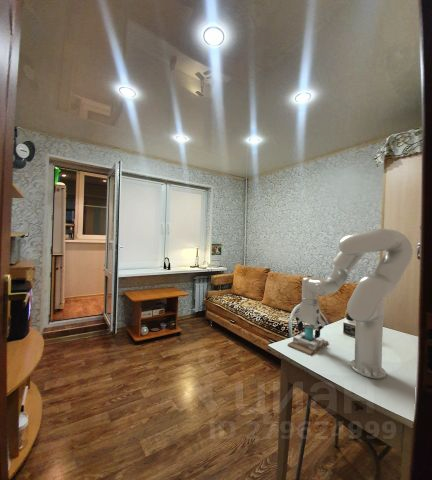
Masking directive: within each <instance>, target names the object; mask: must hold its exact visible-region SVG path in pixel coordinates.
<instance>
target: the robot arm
mask: <svg viewBox="0 0 432 480" xmlns="http://www.w3.org/2000/svg"><path fill="white" fill-rule="evenodd" d="M338 249H339V251H338V253H337V255H335V257H334V258H333V259H332V264H333V265H334V269H333V270H332V272H331V273H330V275H329V276H328V277H327V278H322V279H318V278H316V277H309V276H304V277H303V278H302V280H301V302H300V304H299V311H298V312H295V313H294V317H295V320H296V323H297V331H298V332H303V331H304V323H306V324H308V325H311V326H313V328H315V331H314V336H315V338H318V337H320V338H321V330H323V329H324V327H325V326H326V322H325V321H324V320H322V319H321V310H320V301H319V300H318V296H328V295H332V294H334V293H336V292H338V291H339V290H340V289H341V288H342V286H343V285H344V284H345V283H346V282H347V280H348V278H349V275H350V274H351V271H352V270H353V268H354V267H355V266H356V265H357V263H359V261H360V260H361V259H362V258H363V257H364V256H365V254H369V253H376V252H385V253H384V255H383V257H381V259H380V261H379V262H378V264H377V267H376V268H375V270H374V271H373V272H372V274H367V275H365V276H363V277H362V278H361V279H360V280H359V281H358V283H357V284H356V287H355V289H354V290H353V292H352V294H351V295H350V298H349V299H348V302H347V305H346V311H347V313H348V314H349V316H350V317H351V318H352V319H353V320H355V321H356V325H355V337H354V359H352V360H350V362H349V363H350V365H349V366H350V368H351V369H352V370H353V371H354V372H355V373H357V374H359V375H361V376H364V377H366V378H369V379H370V378H371V379H376V380H377V379H379V380H381V379H384V378H386V377H387V372H386V370H385V369H384V368H383V365H382V364H383V363H382V362H383V361H382V360H383V337H384V336H383V335H384V334H383V331H384V320H385V314H386V308H385V304H384V302H383V300H384V298H387V297H389V296H392V294H394V292H395V290H396V288H397V286H398V285H399V283H400V281H401V279H402V278H403V277H404V276H403V275H404V274H405V272H406V271H407V268H408V266H409V265H410V262H411V260H412V257H413V251H414V250H413V245H412V243H411V241H410V239H409V238H408V237H407V236H406V235H405V234H403V233H402V232H401V231H398V230H394V229H389V228H387V229H386V228H376V229H371V230H367V231H362V232H358V233H353V234H348V235H344V237H342V238H341V239H340V241H339V243H338Z"/></svg>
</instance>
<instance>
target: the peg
mask: <svg viewBox="0 0 432 480" xmlns="http://www.w3.org/2000/svg"><path fill="white" fill-rule="evenodd" d="M304 332H305V339H306V340H308V341H313V335H314V326H310V325H309V326H308V325H305V326H304Z"/></svg>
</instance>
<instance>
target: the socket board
mask: <svg viewBox="0 0 432 480" xmlns="http://www.w3.org/2000/svg"><path fill="white" fill-rule="evenodd" d="M328 344H329V341H328V340H325V339H324V338H322V337H321V336H320V337H318V338H315V334H313V341H308V340H306V339H305V331H302V332H301V333H298V334H297V335H295V336H293V339H292V341H291V342H289V343H287V347H289V348H291V349H294V350H295V351H296V350H297V351H298V352H301V353H303V354H305V355H307V356H312V355H313V354H315V353H317V352H318V351H319V350H322V348H324V347H326V346H327V345H328Z"/></svg>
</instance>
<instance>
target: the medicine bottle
mask: <svg viewBox="0 0 432 480" xmlns="http://www.w3.org/2000/svg"><path fill="white" fill-rule="evenodd" d="M345 316H346V317H345V320H344V321H343V324H342V325H343V326H342V328H343V330H342V334H343V335H345V336H349V337H353V338H355V325H356V321H355V320H353V319H352V318H351V317H350V316H349V314H348V312H347V313H346V315H345Z"/></svg>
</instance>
